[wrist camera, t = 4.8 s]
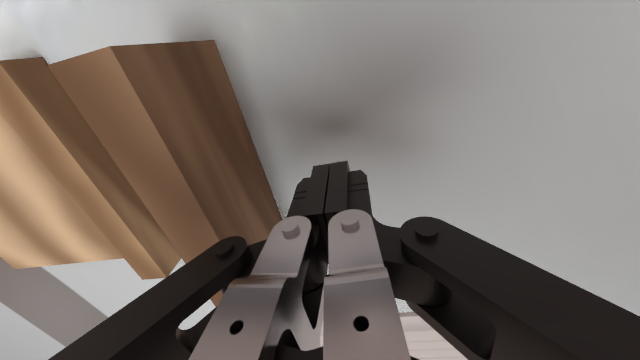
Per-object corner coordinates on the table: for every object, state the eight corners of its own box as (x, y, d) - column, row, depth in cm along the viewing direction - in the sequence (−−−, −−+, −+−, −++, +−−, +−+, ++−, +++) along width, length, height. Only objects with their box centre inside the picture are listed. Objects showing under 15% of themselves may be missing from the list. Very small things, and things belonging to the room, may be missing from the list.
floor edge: (42, 57, 15) (-3, 60, 13) (181, 257, 23) (166, 277, 21) (-130, 111, 18) (-185, 120, 16) (46, 270, 26) (23, 288, 24)
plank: (215, 40, 14) (109, 46, 8) (287, 232, 20) (262, 316, 14) (175, 51, 14) (47, 65, 8) (259, 235, 21) (223, 317, 15)
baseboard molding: (222, 312, 28) (262, 363, 34) (210, 339, 26) (256, 390, 31) (538, 287, 21) (522, 357, 27) (563, 321, 19) (540, 390, 24)
